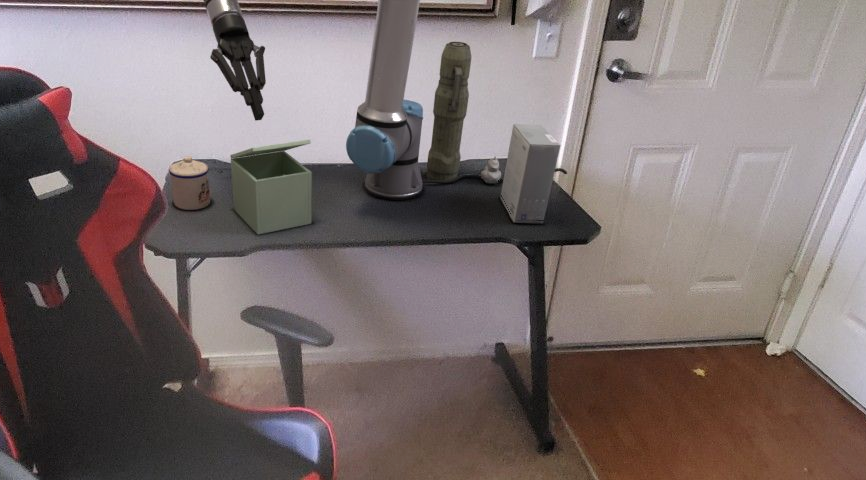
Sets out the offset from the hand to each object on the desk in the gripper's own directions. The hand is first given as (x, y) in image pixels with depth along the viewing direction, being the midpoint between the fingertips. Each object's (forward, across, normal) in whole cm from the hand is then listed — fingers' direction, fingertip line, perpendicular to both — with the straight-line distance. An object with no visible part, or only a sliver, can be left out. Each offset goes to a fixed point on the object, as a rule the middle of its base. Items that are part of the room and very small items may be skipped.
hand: (259, 117), depth 150 cm
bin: (+19, 0, -12) cm, 23 cm away
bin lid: (+8, 0, -1) cm, 8 cm away
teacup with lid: (+8, +14, -24) cm, 28 cm away
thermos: (+17, -53, -15) cm, 58 cm away
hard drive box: (+36, -58, +4) cm, 69 cm away
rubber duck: (+23, -63, -9) cm, 68 cm away
